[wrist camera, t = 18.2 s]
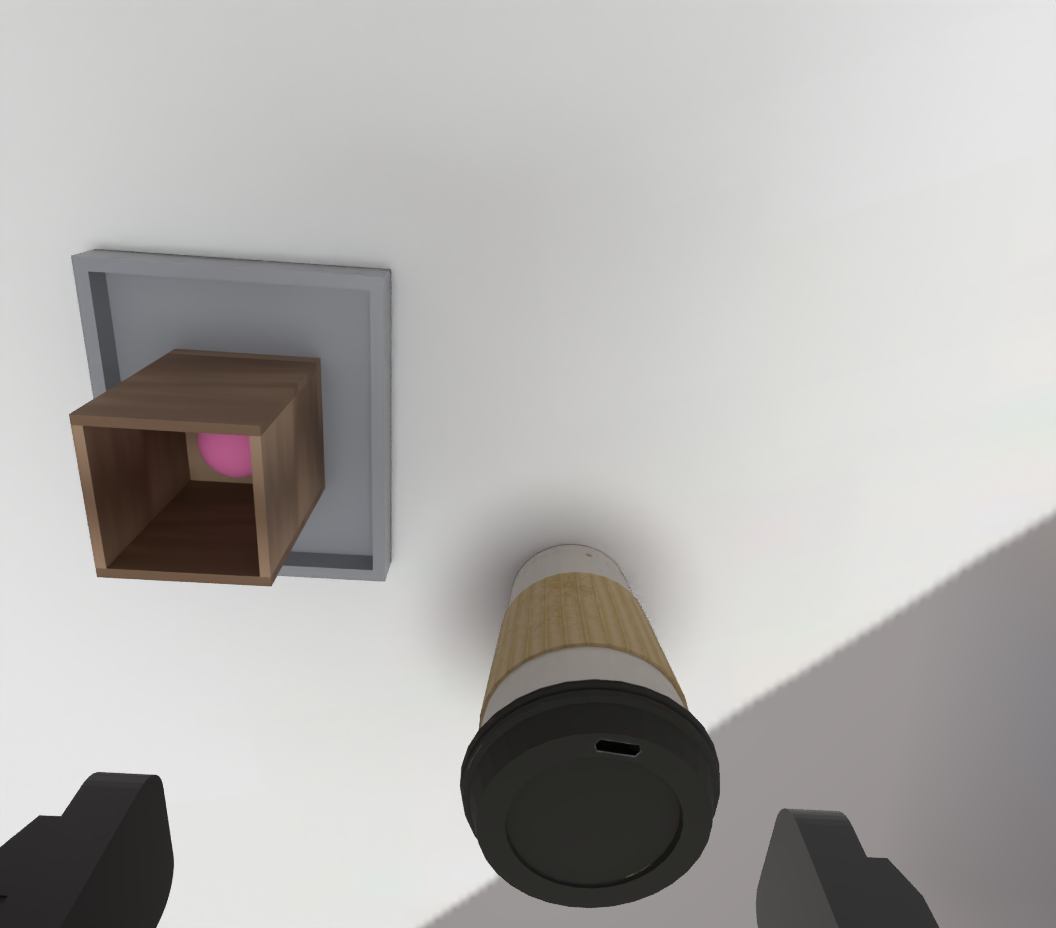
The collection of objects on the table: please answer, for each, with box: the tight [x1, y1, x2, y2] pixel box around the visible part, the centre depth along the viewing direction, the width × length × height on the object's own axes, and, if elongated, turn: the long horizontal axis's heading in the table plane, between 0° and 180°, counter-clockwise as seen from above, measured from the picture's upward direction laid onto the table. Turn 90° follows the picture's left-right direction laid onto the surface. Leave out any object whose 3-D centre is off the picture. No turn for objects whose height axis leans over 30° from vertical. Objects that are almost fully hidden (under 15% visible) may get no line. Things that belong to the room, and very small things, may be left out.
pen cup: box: [69, 349, 325, 586], centre depth 33 cm, size 7×7×9 cm
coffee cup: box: [460, 544, 720, 908], centre depth 35 cm, size 10×10×15 cm
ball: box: [197, 433, 252, 478], centre depth 34 cm, size 3×3×3 cm
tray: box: [71, 249, 391, 581], centre depth 36 cm, size 15×13×2 cm
